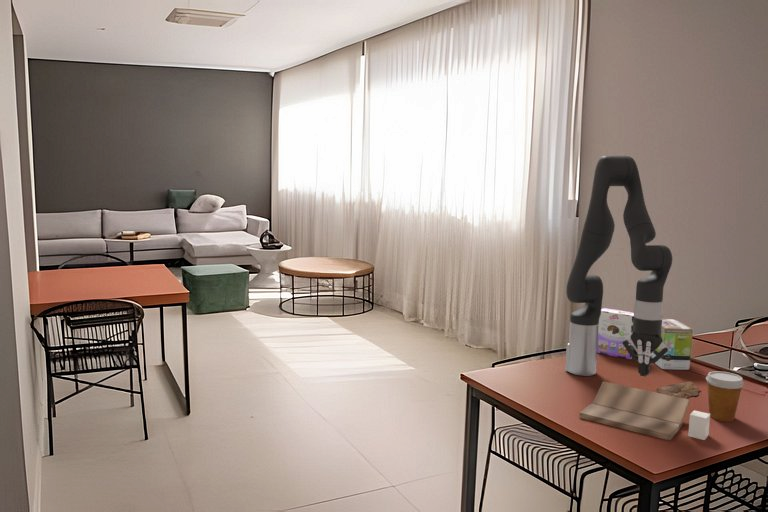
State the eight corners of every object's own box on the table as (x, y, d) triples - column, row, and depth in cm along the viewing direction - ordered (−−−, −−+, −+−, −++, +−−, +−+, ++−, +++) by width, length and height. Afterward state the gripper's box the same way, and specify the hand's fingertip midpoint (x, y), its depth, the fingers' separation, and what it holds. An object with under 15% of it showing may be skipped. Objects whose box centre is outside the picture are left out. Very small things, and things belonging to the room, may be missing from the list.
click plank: (593, 406, 194) (592, 403, 193) (603, 385, 200) (602, 381, 199) (680, 427, 180) (680, 423, 179) (689, 403, 185) (688, 399, 184)
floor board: (579, 418, 186) (579, 412, 186) (592, 407, 194) (592, 402, 193) (669, 440, 171) (670, 434, 171) (680, 428, 179) (680, 423, 179)
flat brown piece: (678, 408, 195) (679, 404, 195) (642, 398, 203) (642, 395, 202) (711, 388, 213) (712, 384, 213) (676, 380, 220) (677, 376, 220)
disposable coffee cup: (739, 426, 181) (743, 384, 179) (700, 419, 186) (704, 377, 184) (741, 415, 189) (745, 374, 187) (705, 408, 194) (708, 368, 192)
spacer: (688, 436, 174) (689, 414, 173) (692, 431, 177) (693, 410, 177) (704, 440, 172) (706, 418, 171) (708, 435, 175) (710, 413, 174)
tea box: (690, 370, 229) (694, 328, 227) (661, 369, 230) (664, 328, 227) (672, 357, 244) (675, 318, 242) (645, 357, 244) (647, 317, 242)
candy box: (637, 356, 245) (640, 313, 242) (630, 360, 240) (633, 315, 238) (601, 349, 254) (603, 307, 251) (594, 352, 250) (596, 309, 247)
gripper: (619, 314, 188) (616, 374, 191) (668, 322, 180) (664, 383, 183) (628, 310, 194) (624, 367, 197) (676, 317, 186) (672, 377, 189)
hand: (643, 375), depth 190 cm, fingers closed
